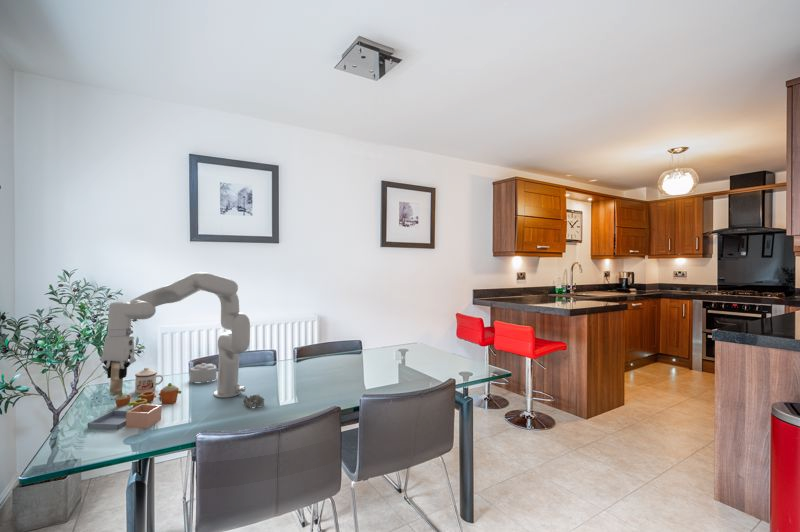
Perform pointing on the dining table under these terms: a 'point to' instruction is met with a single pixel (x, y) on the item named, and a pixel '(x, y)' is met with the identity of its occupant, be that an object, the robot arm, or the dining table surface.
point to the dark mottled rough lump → (254, 401)
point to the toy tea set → (150, 397)
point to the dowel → (115, 379)
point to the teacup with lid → (146, 380)
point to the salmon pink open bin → (143, 416)
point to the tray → (110, 420)
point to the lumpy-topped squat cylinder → (203, 373)
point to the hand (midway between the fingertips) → (116, 377)
